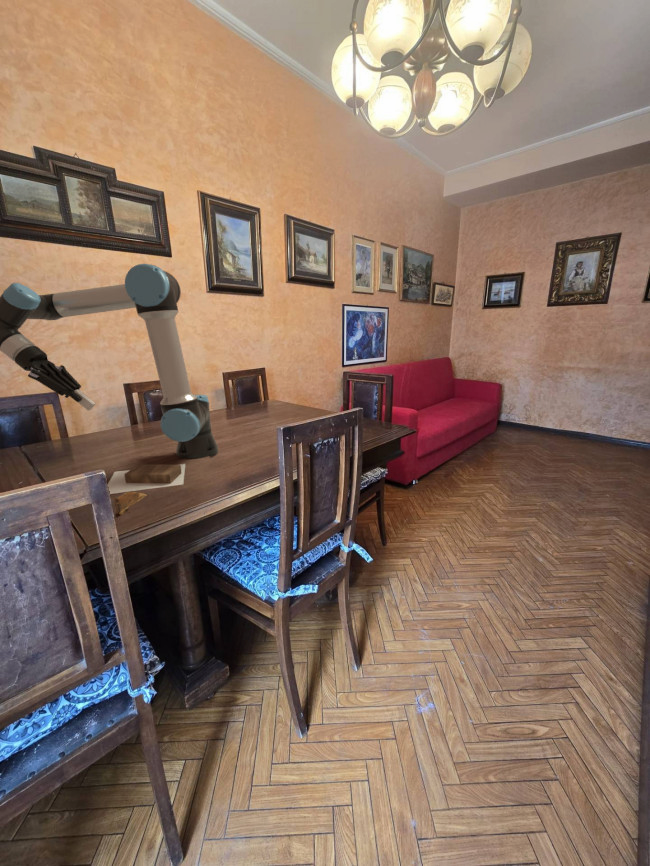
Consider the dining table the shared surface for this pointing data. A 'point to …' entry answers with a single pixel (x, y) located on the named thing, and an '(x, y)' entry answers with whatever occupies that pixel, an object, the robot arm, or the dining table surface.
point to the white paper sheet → (120, 485)
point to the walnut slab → (153, 474)
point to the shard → (127, 500)
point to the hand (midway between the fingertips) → (91, 406)
